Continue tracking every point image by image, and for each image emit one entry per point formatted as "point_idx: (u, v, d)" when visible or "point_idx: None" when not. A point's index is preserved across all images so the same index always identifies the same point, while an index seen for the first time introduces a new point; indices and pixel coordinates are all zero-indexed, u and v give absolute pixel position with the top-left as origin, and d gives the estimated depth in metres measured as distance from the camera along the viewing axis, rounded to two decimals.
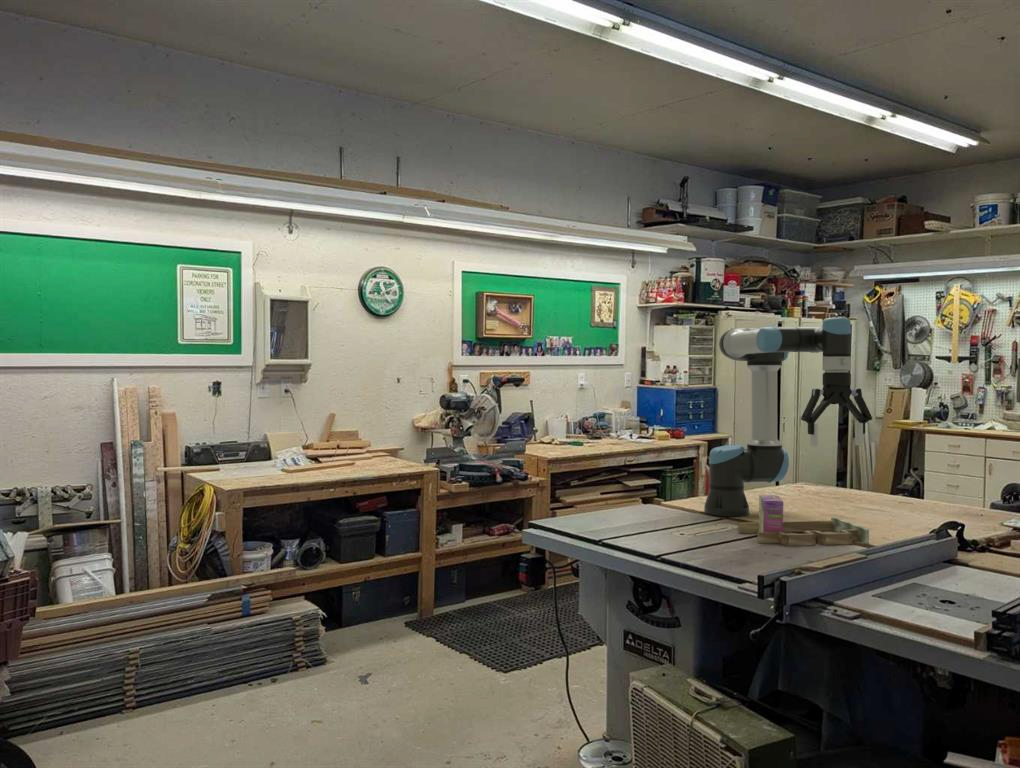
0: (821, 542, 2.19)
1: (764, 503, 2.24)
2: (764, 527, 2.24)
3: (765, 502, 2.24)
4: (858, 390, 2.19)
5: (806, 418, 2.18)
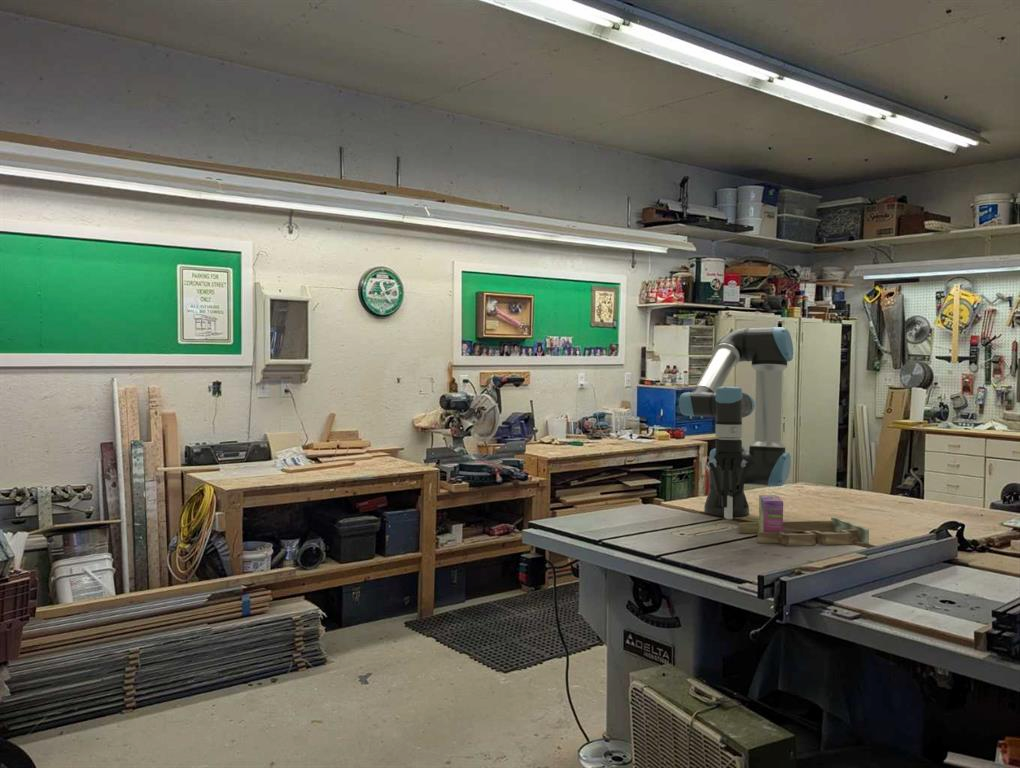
0: (821, 542, 2.19)
1: (764, 503, 2.24)
2: (764, 527, 2.24)
3: (765, 502, 2.24)
4: (748, 463, 2.26)
5: (719, 492, 2.25)
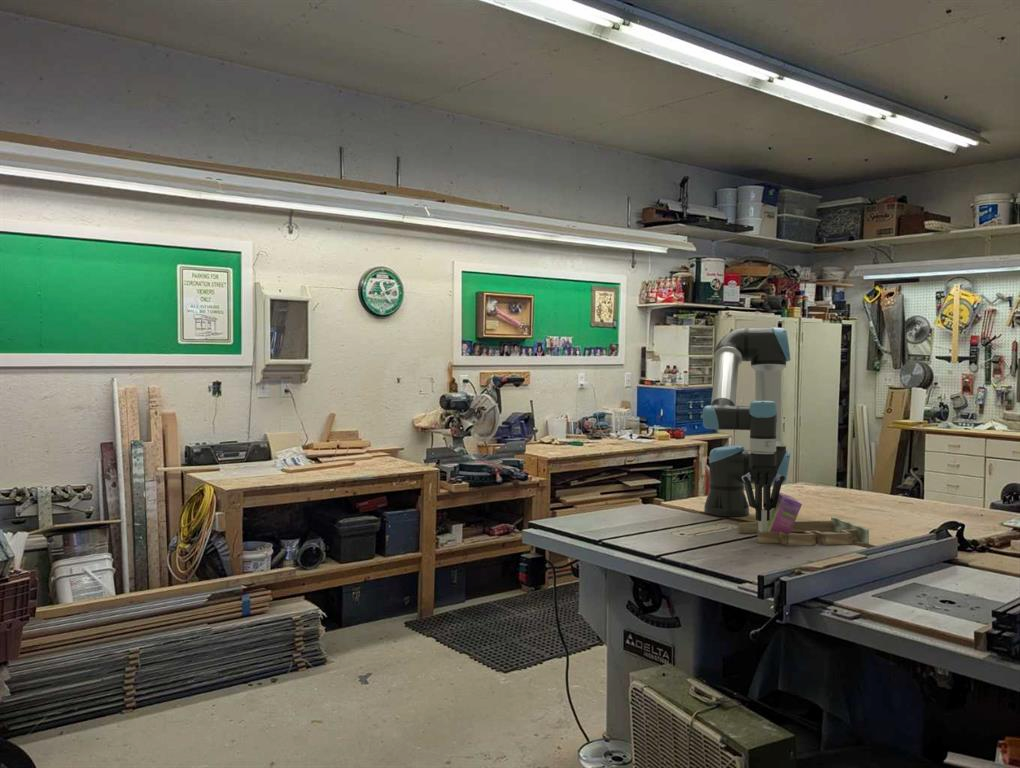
0: (821, 542, 2.19)
1: (783, 499, 2.23)
2: (774, 522, 2.24)
3: (784, 499, 2.23)
4: (782, 477, 2.28)
5: (753, 506, 2.27)
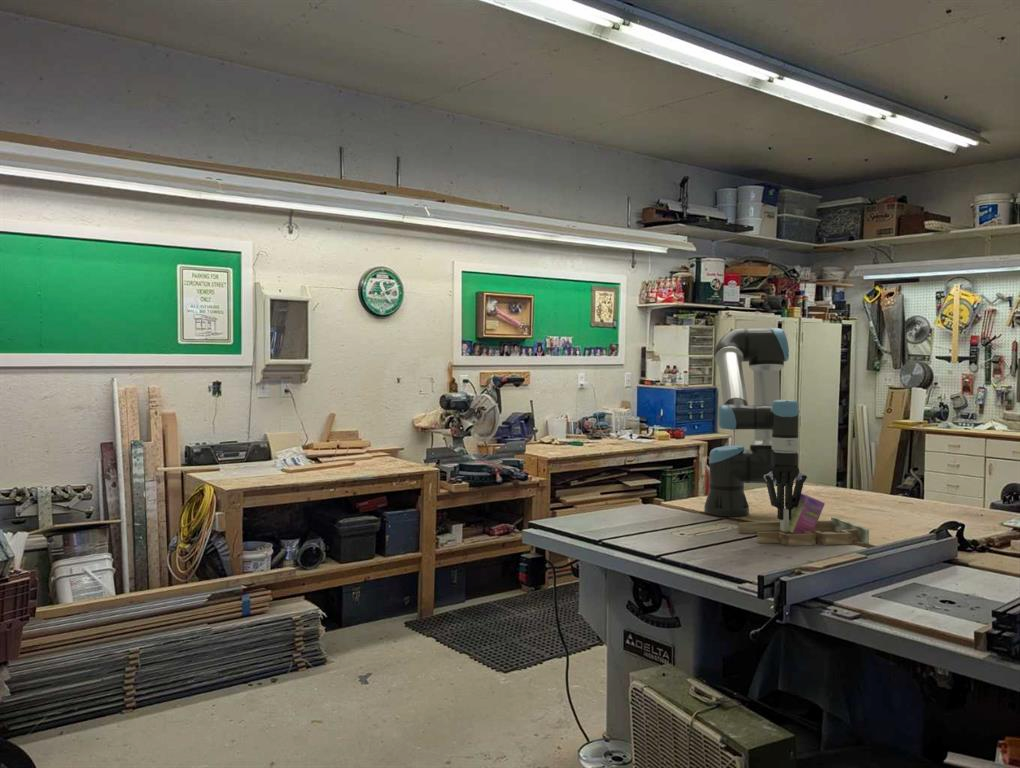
0: (821, 542, 2.19)
1: (807, 499, 2.24)
2: (798, 521, 2.24)
3: (808, 498, 2.24)
4: (804, 476, 2.28)
5: (775, 505, 2.27)
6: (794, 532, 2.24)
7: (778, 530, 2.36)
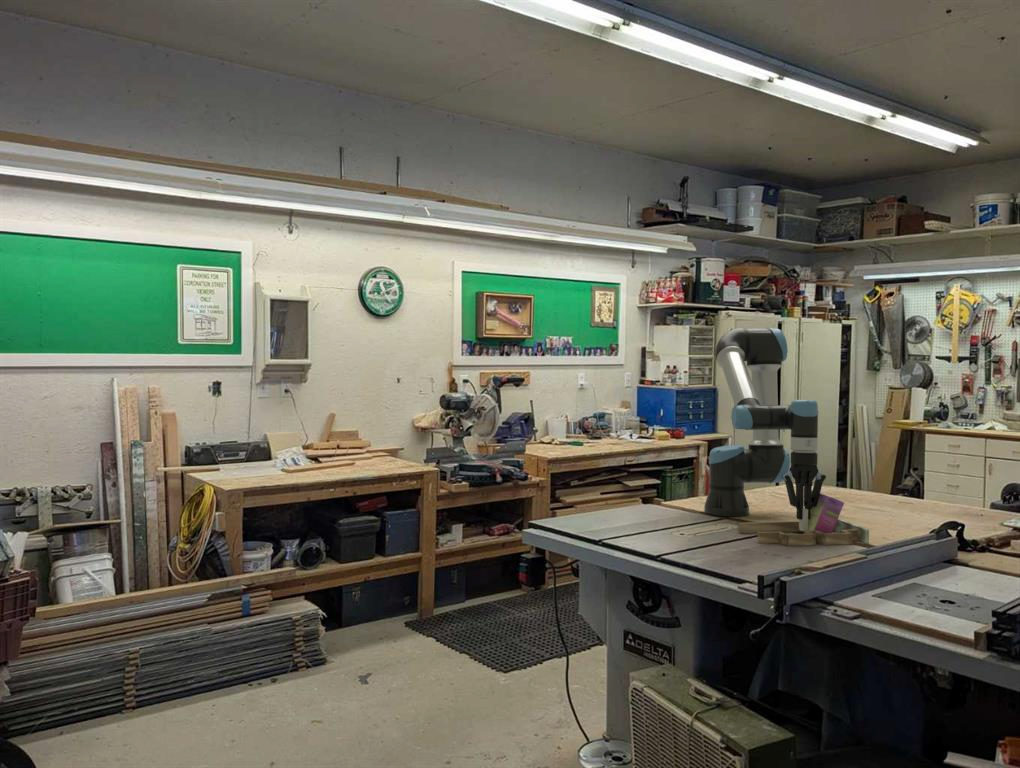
0: (821, 542, 2.19)
1: (827, 498, 2.25)
2: (818, 521, 2.25)
3: (828, 498, 2.25)
4: (823, 476, 2.29)
5: (795, 504, 2.28)
6: None
7: (778, 530, 2.36)
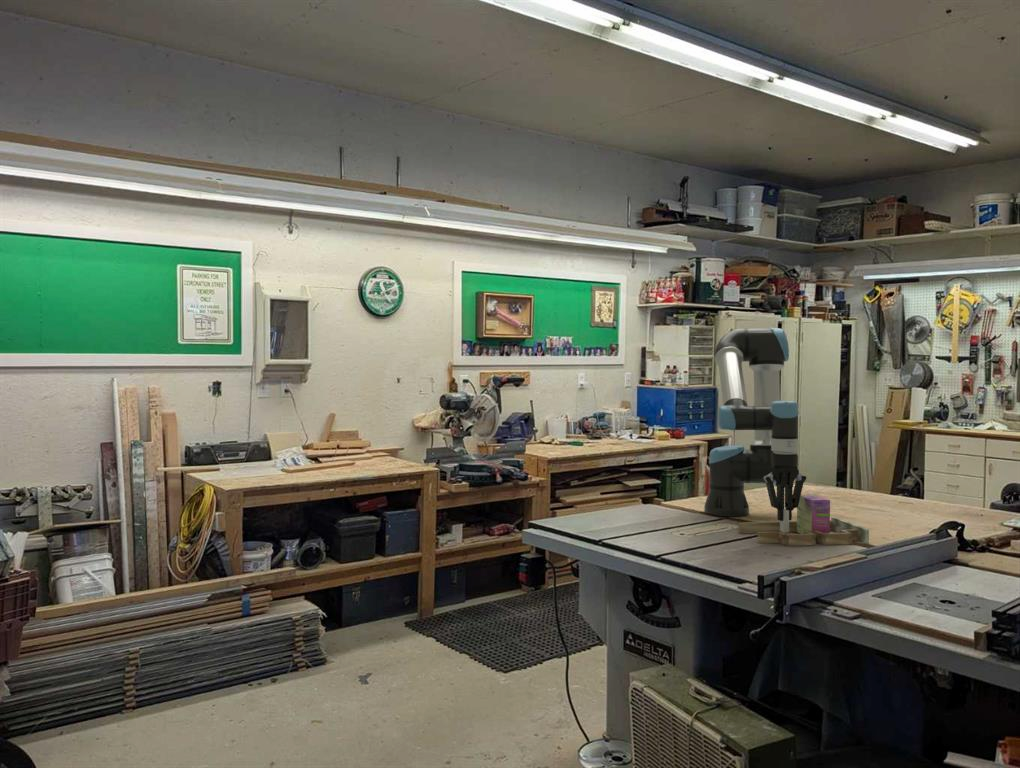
0: (821, 542, 2.19)
1: (812, 502, 2.25)
2: (812, 526, 2.25)
3: (813, 501, 2.25)
4: (803, 477, 2.28)
5: (775, 506, 2.27)
6: None
7: (778, 530, 2.36)
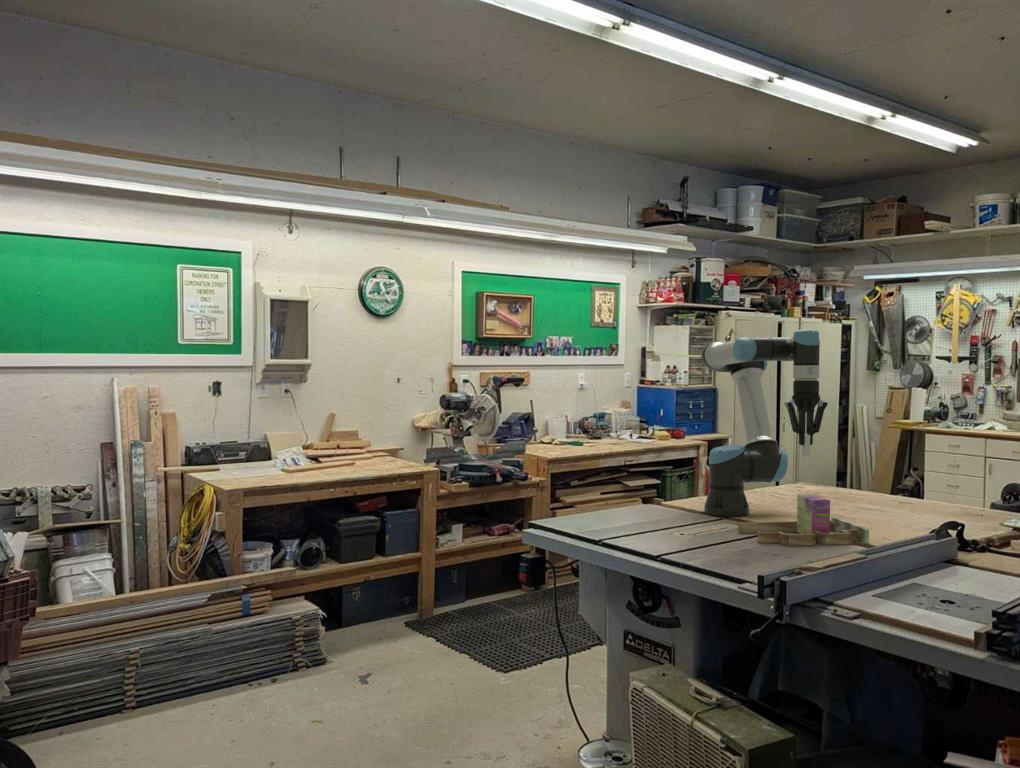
0: (821, 542, 2.19)
1: (812, 502, 2.25)
2: (812, 526, 2.25)
3: (813, 501, 2.25)
4: (825, 403, 2.37)
5: (797, 430, 2.37)
6: None
7: (778, 530, 2.36)
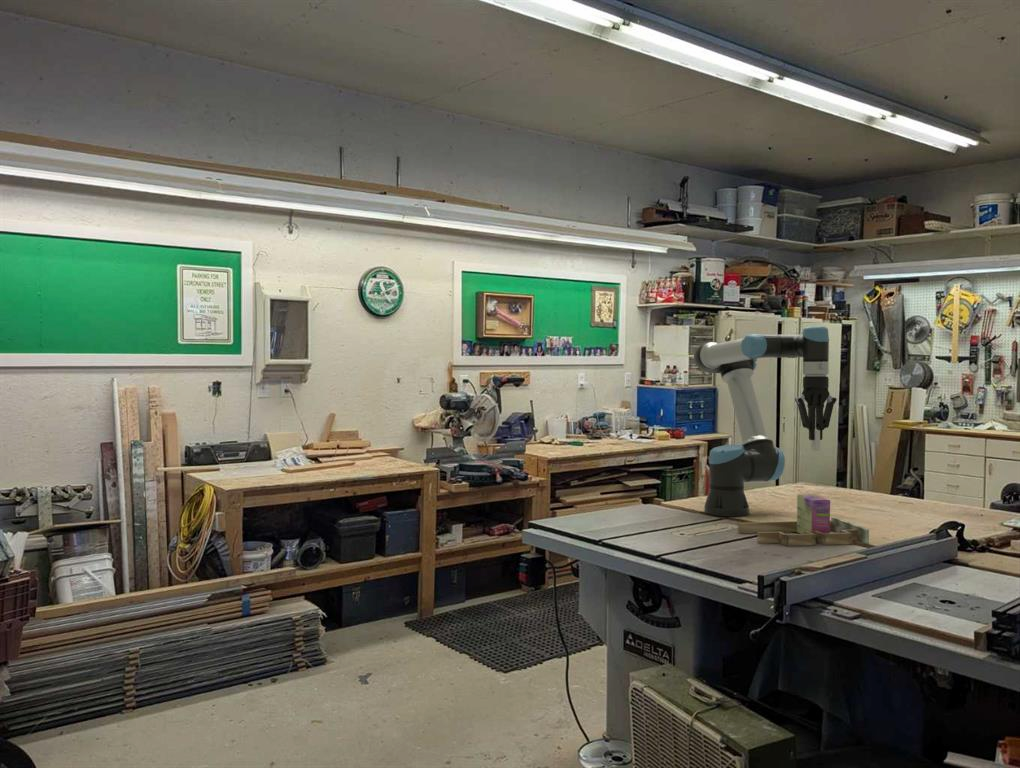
0: (821, 542, 2.19)
1: (812, 502, 2.25)
2: (812, 526, 2.25)
3: (813, 501, 2.25)
4: (834, 398, 2.41)
5: (807, 426, 2.40)
6: None
7: (778, 530, 2.36)
